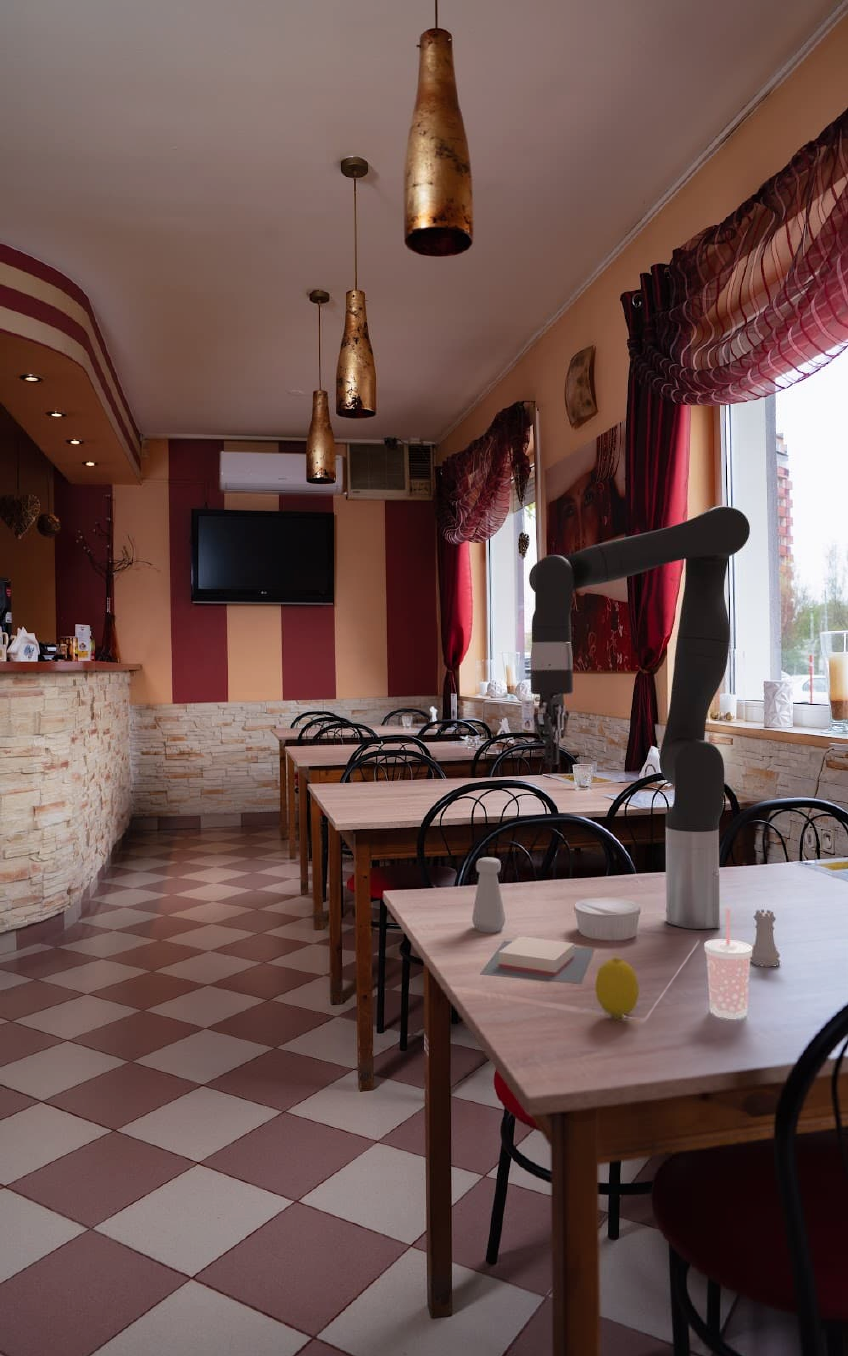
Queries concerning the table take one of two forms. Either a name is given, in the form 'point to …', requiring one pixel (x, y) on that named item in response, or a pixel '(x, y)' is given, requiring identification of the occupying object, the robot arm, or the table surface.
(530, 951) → the tile
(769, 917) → the rook chess piece
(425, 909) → the table surface
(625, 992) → the lemon
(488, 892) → the salt shaker
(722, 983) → the beverage cup
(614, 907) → the ramekin
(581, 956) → the slate mat
